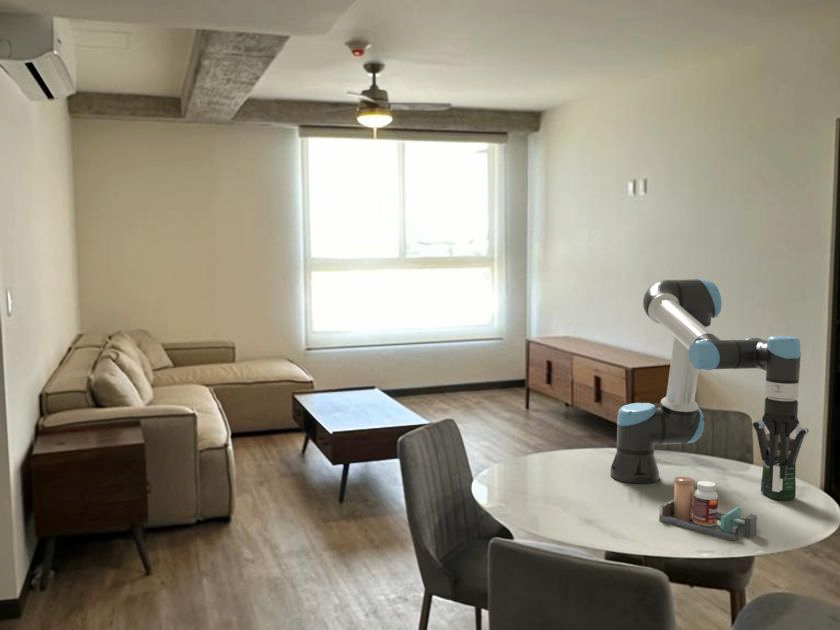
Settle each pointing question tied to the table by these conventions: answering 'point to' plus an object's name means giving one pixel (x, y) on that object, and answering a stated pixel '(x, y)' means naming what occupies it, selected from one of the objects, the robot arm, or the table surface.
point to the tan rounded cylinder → (683, 498)
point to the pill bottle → (705, 504)
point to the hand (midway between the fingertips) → (777, 490)
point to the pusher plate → (734, 520)
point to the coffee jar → (788, 483)
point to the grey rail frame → (668, 511)
